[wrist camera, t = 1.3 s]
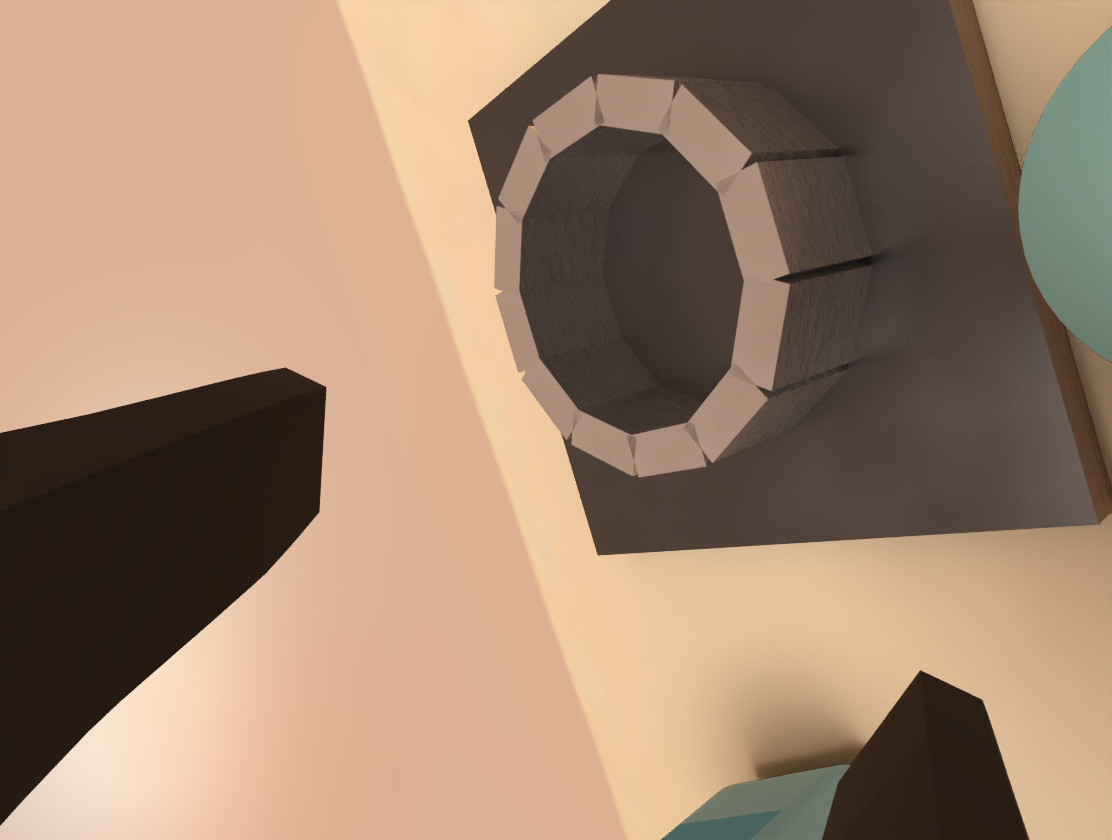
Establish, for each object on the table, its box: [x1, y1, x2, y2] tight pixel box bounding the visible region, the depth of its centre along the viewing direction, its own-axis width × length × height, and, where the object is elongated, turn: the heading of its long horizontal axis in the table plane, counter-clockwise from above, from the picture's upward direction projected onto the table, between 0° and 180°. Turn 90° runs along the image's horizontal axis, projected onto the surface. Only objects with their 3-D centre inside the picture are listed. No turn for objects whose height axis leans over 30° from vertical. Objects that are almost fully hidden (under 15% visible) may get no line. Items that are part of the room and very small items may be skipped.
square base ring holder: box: [468, 0, 1112, 555], centre depth 20 cm, size 14×14×4 cm
